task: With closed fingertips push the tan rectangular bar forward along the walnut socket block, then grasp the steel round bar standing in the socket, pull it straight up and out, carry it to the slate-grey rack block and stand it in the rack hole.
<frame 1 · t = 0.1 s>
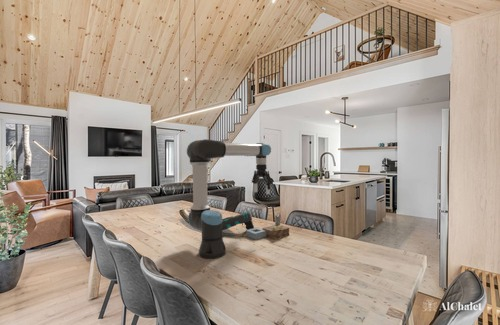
hand: (261, 193, 177), 28 cm above the table, fingers open, 13 cm apart
gun: (233, 232, 177), on the table
steel round bar: (277, 234, 169), resting in socket block
rack: (256, 236, 166), on the table
tan rectangular bar: (277, 228, 162), point 6 cm above the table, slide at 0.0 cm
socket block: (275, 235, 168), on the table
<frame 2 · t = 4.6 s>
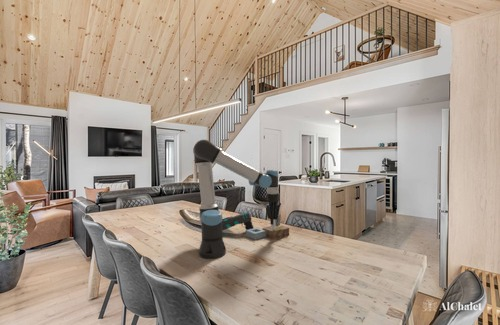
hand: (273, 229, 160), 7 cm above the table, fingers closed
tan rectangular bar: (277, 228, 162), point 6 cm above the table, slide at 0.2 cm, touching gripper
everything else where it was.
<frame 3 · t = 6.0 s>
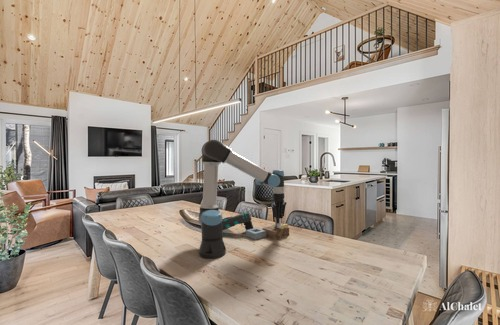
hand: (279, 227, 163), 6 cm above the table, fingers closed
tan rectangular bar: (283, 226, 166), point 6 cm above the table, slide at 5.7 cm, touching gripper
everything else where it was.
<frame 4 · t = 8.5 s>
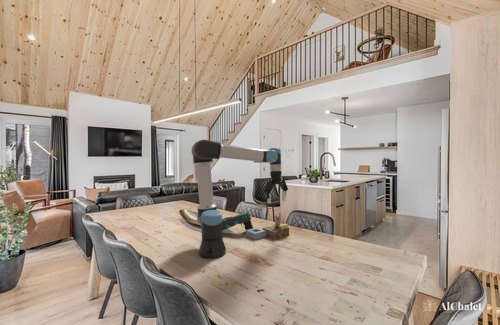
hand: (276, 201, 165), 24 cm above the table, fingers open, 13 cm apart
tan rectangular bar: (283, 226, 166), point 6 cm above the table, slide at 5.7 cm
everything else where it was.
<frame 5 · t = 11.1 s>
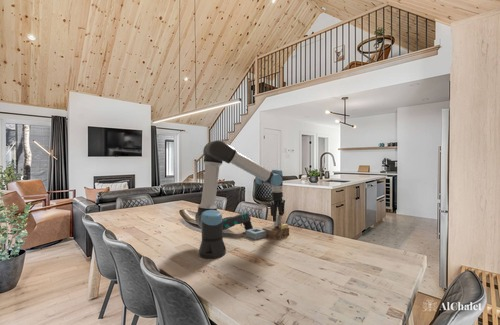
hand: (277, 225, 169), 7 cm above the table, fingers closed on steel round bar, 3 cm apart
steel round bar: (277, 234, 169), resting in socket block, touching gripper
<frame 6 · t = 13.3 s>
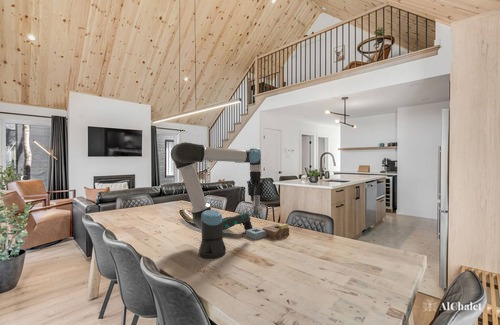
hand: (255, 205, 166), 21 cm above the table, fingers closed on steel round bar, 3 cm apart
steel round bar: (255, 214, 166), point 15 cm above the table, touching gripper
when the fingers open (8 cm above the table, at t = 16.0 s): steel round bar drops 2 cm, resting in rack.
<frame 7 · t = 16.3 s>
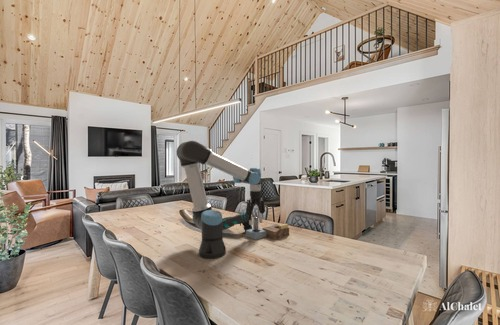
hand: (255, 223, 166), 9 cm above the table, fingers open, 8 cm apart
steel round bar: (256, 236, 166), resting in rack
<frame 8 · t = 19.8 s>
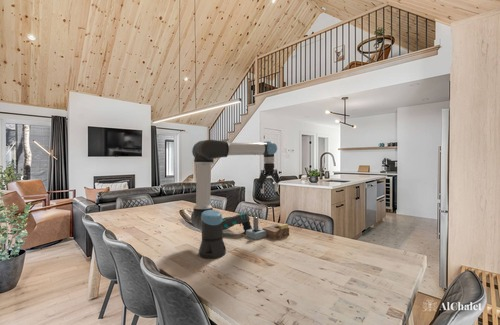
hand: (269, 192, 175), 29 cm above the table, fingers open, 13 cm apart
at the end: tan rectangular bar slide at 5.7 cm; steel round bar 0.0 cm off-centre on the rack, point 0.0 cm above the rack's base; steel round bar tilted 0° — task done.
